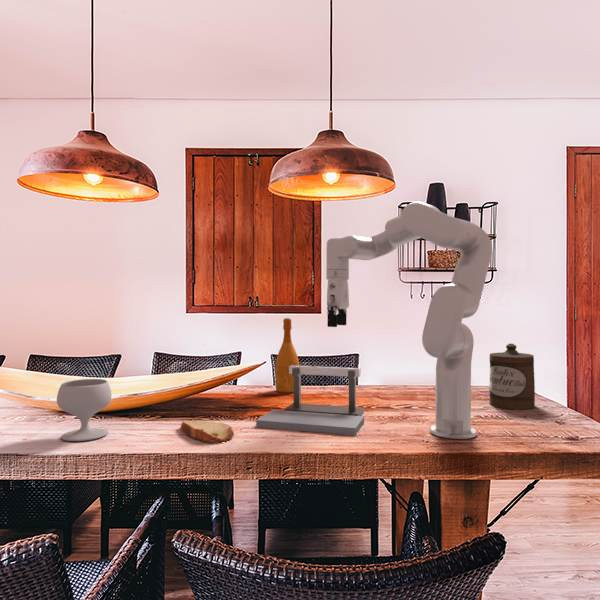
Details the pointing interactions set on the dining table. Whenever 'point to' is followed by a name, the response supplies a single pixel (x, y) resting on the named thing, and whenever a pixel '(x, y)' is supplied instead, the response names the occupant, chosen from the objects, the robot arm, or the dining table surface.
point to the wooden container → (512, 379)
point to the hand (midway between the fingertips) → (337, 325)
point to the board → (311, 422)
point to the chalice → (84, 405)
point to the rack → (325, 409)
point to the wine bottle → (286, 361)
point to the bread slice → (208, 431)
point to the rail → (325, 370)
